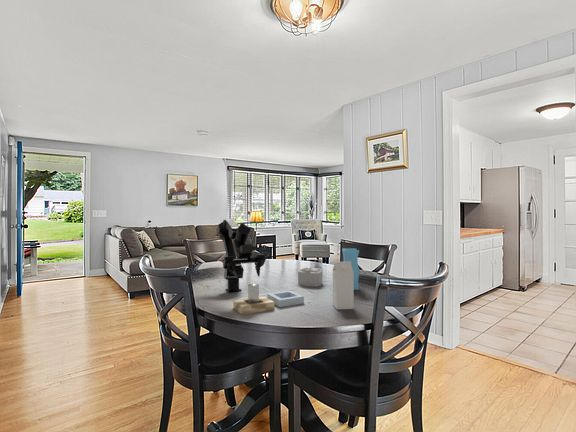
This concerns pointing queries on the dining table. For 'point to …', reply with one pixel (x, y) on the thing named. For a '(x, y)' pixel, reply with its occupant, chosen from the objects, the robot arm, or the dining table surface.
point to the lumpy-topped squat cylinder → (310, 277)
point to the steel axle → (253, 293)
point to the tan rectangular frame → (253, 305)
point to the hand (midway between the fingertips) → (248, 277)
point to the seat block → (286, 298)
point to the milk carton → (343, 285)
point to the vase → (352, 263)
